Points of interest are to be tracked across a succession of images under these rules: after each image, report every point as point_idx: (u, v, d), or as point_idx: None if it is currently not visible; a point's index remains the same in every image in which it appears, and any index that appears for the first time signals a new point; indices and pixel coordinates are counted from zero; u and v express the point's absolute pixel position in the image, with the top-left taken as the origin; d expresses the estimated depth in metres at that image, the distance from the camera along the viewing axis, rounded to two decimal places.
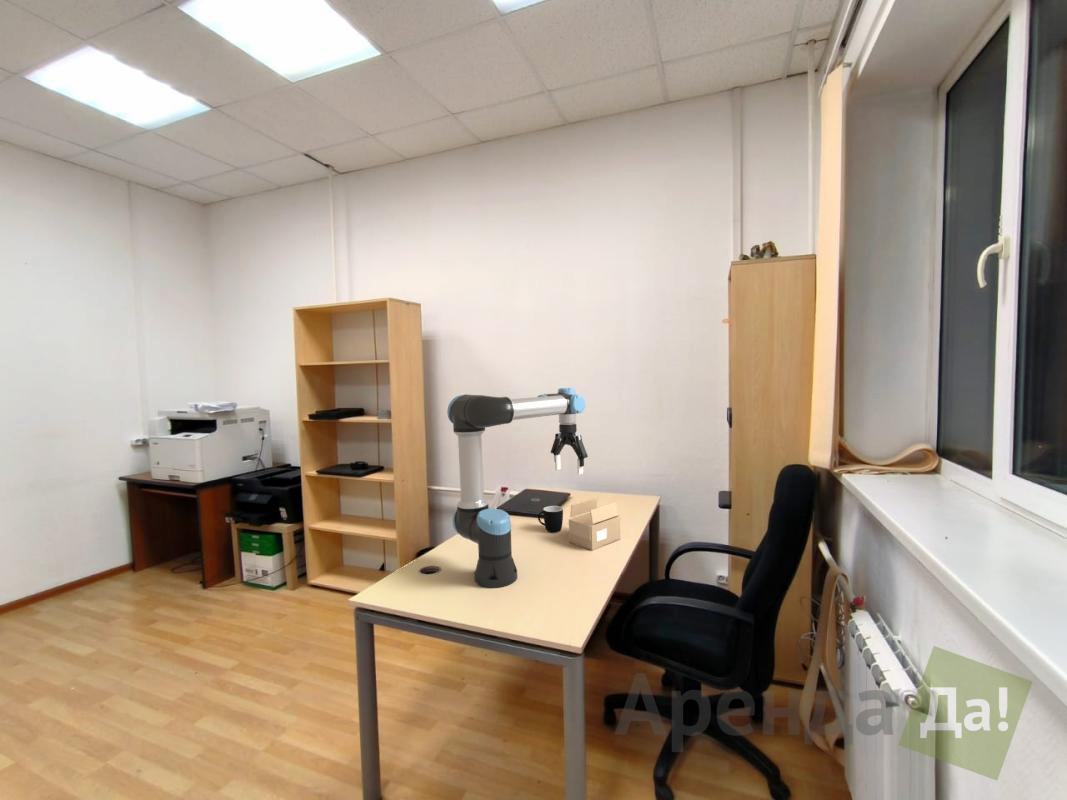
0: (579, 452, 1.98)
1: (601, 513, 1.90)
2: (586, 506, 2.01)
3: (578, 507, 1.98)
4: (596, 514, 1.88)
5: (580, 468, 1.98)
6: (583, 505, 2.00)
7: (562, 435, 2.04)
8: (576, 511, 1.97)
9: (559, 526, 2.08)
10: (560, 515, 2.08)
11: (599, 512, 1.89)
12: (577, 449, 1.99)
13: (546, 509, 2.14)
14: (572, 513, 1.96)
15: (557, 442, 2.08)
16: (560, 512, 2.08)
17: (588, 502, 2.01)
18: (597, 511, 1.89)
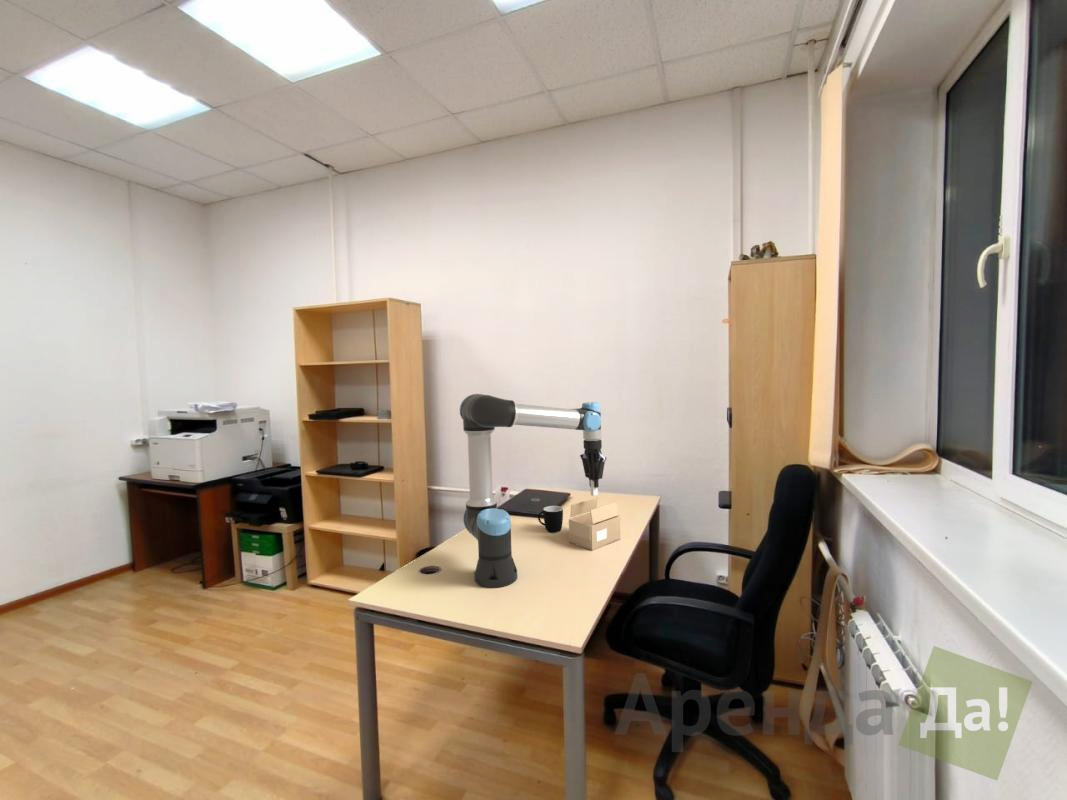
0: (596, 473, 1.94)
1: (601, 513, 1.90)
2: (586, 506, 2.01)
3: (578, 507, 1.98)
4: (596, 514, 1.88)
5: (595, 489, 1.95)
6: (583, 505, 2.00)
7: (586, 450, 1.96)
8: (576, 511, 1.97)
9: (559, 526, 2.08)
10: (560, 515, 2.08)
11: (599, 512, 1.89)
12: (596, 469, 1.93)
13: (546, 509, 2.14)
14: (572, 513, 1.96)
15: (586, 463, 1.98)
16: (560, 512, 2.08)
17: (588, 502, 2.01)
18: (597, 511, 1.89)
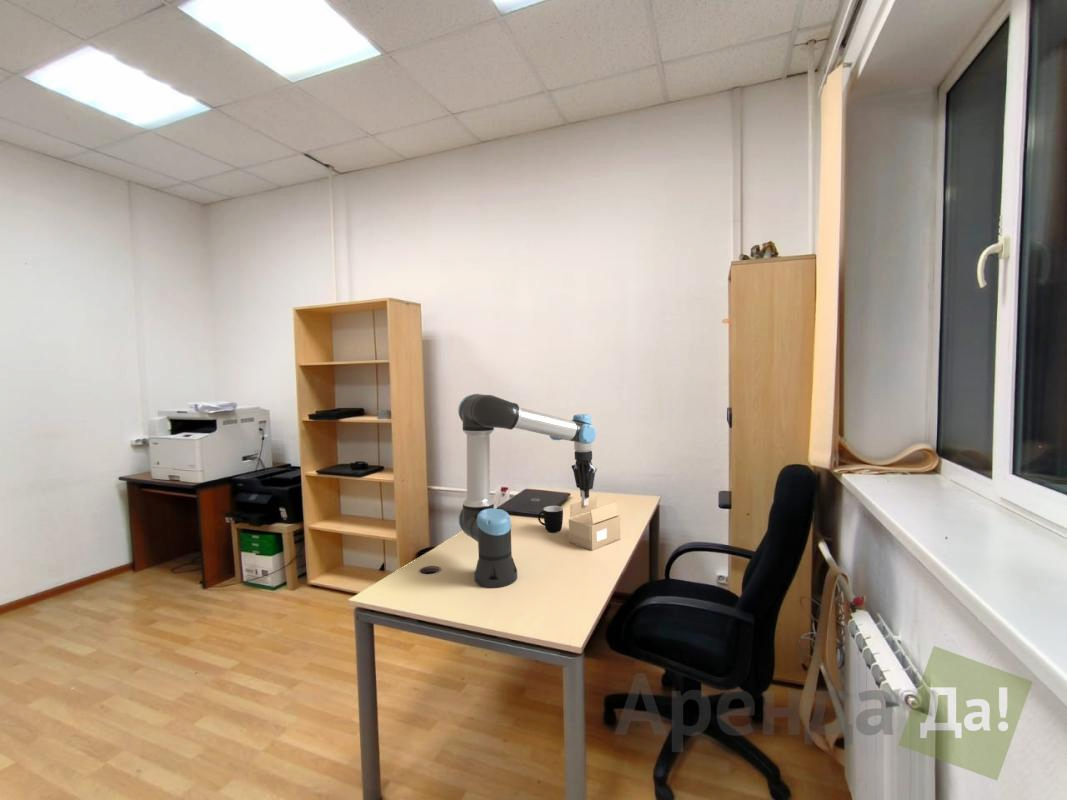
0: None
1: (601, 513, 1.90)
2: (586, 506, 2.01)
3: (578, 507, 1.98)
4: (596, 514, 1.88)
5: (585, 499, 1.99)
6: None
7: (577, 461, 2.00)
8: (576, 511, 1.97)
9: (559, 526, 2.08)
10: (560, 515, 2.08)
11: (599, 512, 1.89)
12: (586, 480, 1.98)
13: (546, 509, 2.14)
14: (572, 513, 1.96)
15: (577, 473, 2.02)
16: (560, 512, 2.08)
17: None
18: (597, 511, 1.89)
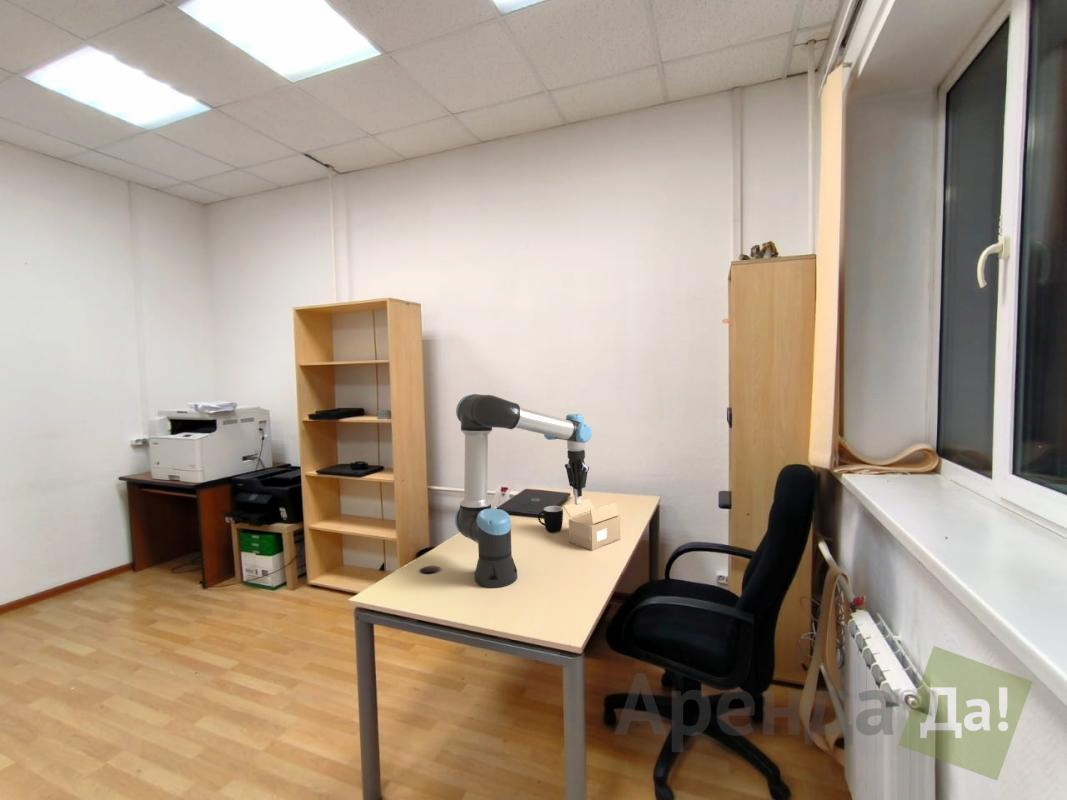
0: None
1: (601, 513, 1.90)
2: (582, 506, 2.03)
3: (573, 507, 2.00)
4: (596, 514, 1.88)
5: (578, 498, 2.02)
6: (577, 505, 2.02)
7: (570, 460, 2.04)
8: (573, 511, 1.99)
9: (559, 526, 2.08)
10: (560, 515, 2.08)
11: (599, 512, 1.89)
12: (579, 479, 2.01)
13: (546, 509, 2.14)
14: (569, 513, 1.97)
15: (570, 472, 2.05)
16: (560, 512, 2.08)
17: (581, 502, 2.05)
18: (597, 511, 1.89)
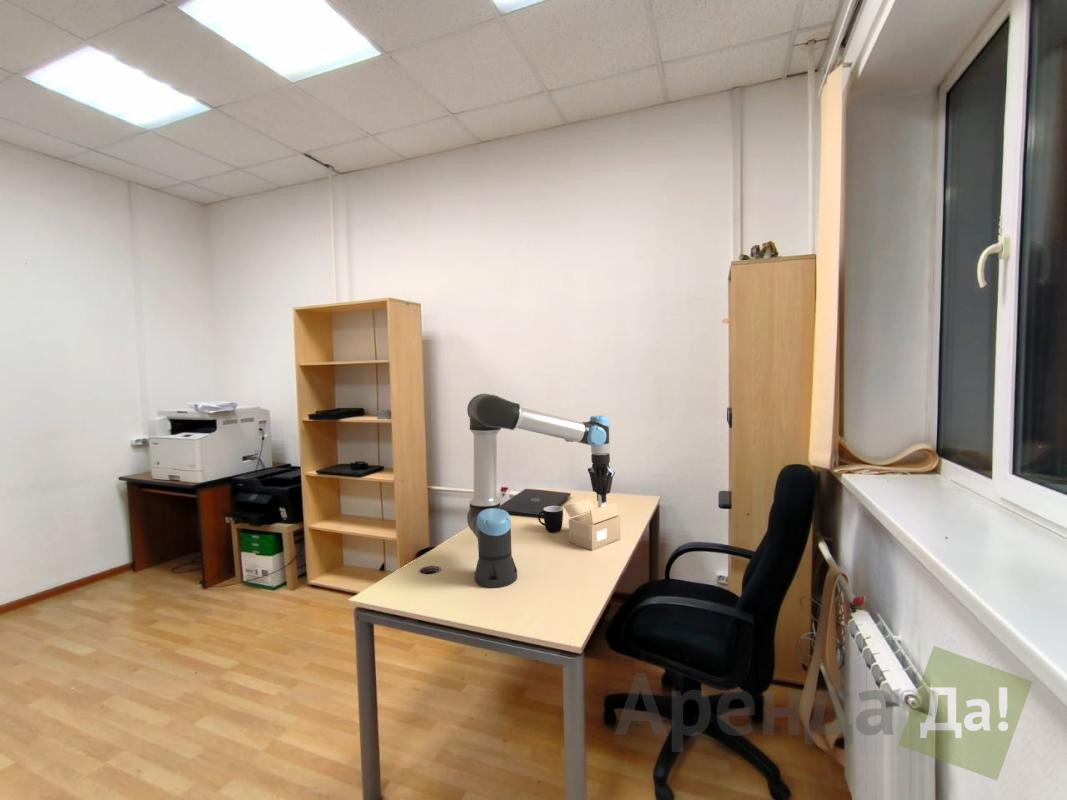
0: (604, 488, 1.91)
1: (601, 513, 1.90)
2: (582, 506, 2.03)
3: (573, 507, 2.00)
4: (596, 514, 1.88)
5: (602, 504, 1.92)
6: (577, 505, 2.02)
7: (593, 464, 1.93)
8: (573, 511, 1.99)
9: (559, 526, 2.08)
10: (560, 515, 2.08)
11: (599, 512, 1.89)
12: (604, 484, 1.90)
13: (546, 509, 2.14)
14: (569, 513, 1.97)
15: (594, 477, 1.95)
16: (560, 512, 2.08)
17: (581, 503, 2.05)
18: (597, 511, 1.89)
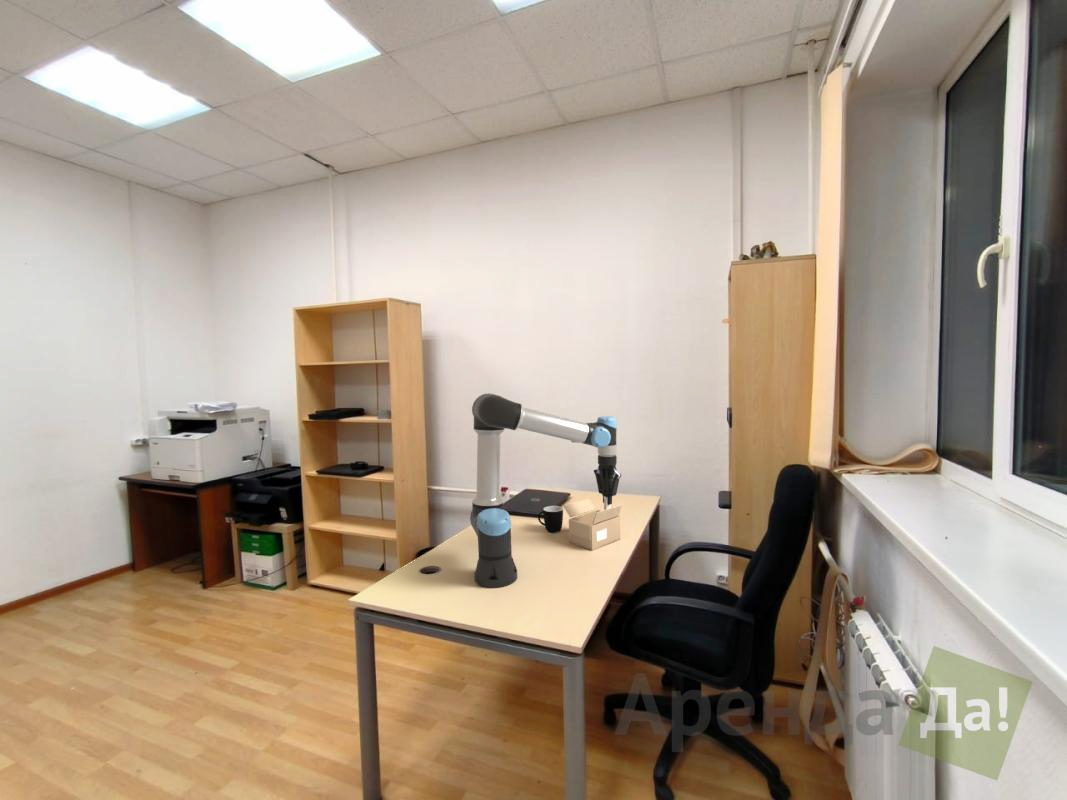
0: (610, 490, 1.88)
1: (604, 515, 1.89)
2: (582, 506, 2.03)
3: (573, 507, 2.00)
4: (600, 516, 1.87)
5: (608, 506, 1.90)
6: (577, 505, 2.02)
7: (600, 466, 1.90)
8: (573, 511, 1.99)
9: (559, 526, 2.08)
10: (560, 515, 2.08)
11: (603, 514, 1.88)
12: (610, 486, 1.88)
13: (546, 509, 2.14)
14: (569, 513, 1.97)
15: (600, 478, 1.92)
16: (560, 512, 2.08)
17: (581, 503, 2.05)
18: (602, 513, 1.87)
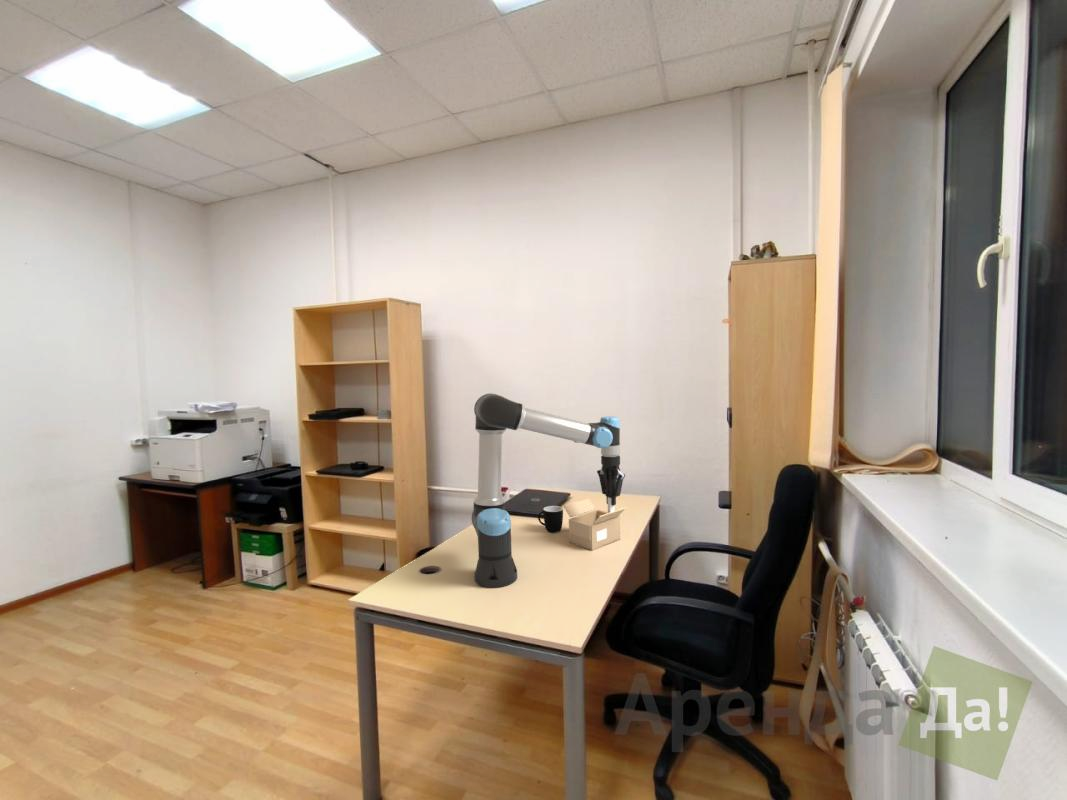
0: (614, 490, 1.87)
1: (606, 517, 1.88)
2: (582, 506, 2.03)
3: (573, 507, 2.00)
4: (602, 518, 1.86)
5: (612, 507, 1.88)
6: (577, 505, 2.02)
7: (603, 466, 1.89)
8: (573, 511, 1.99)
9: (559, 526, 2.08)
10: (560, 515, 2.08)
11: (605, 517, 1.87)
12: (614, 486, 1.86)
13: (546, 509, 2.14)
14: (569, 513, 1.97)
15: (603, 479, 1.91)
16: (560, 512, 2.08)
17: (581, 503, 2.05)
18: (605, 516, 1.86)
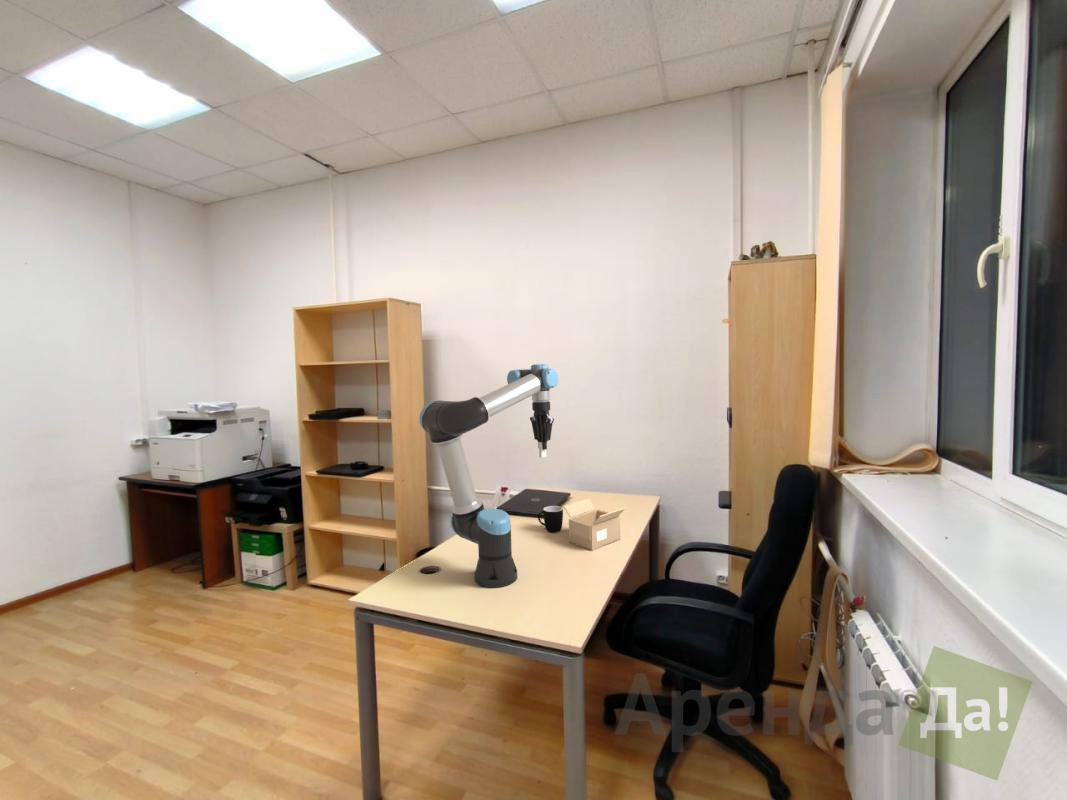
0: (544, 435, 1.94)
1: (606, 517, 1.88)
2: (582, 506, 2.03)
3: (573, 507, 2.00)
4: (602, 518, 1.86)
5: (543, 451, 1.95)
6: (577, 505, 2.02)
7: (535, 412, 1.96)
8: (573, 511, 1.99)
9: (559, 526, 2.08)
10: (560, 515, 2.08)
11: (605, 517, 1.87)
12: (544, 431, 1.94)
13: (546, 509, 2.14)
14: (569, 513, 1.97)
15: (535, 425, 1.98)
16: (560, 512, 2.08)
17: (581, 503, 2.05)
18: (605, 516, 1.86)
